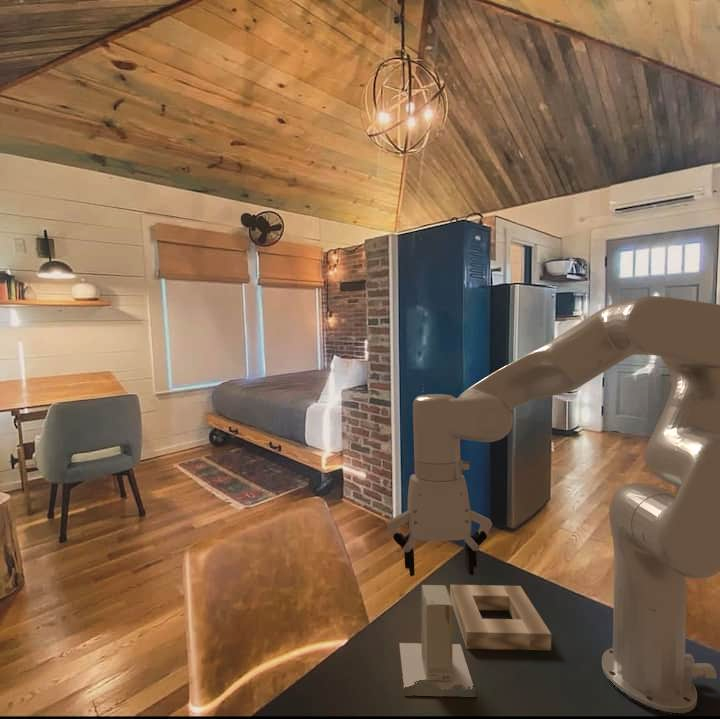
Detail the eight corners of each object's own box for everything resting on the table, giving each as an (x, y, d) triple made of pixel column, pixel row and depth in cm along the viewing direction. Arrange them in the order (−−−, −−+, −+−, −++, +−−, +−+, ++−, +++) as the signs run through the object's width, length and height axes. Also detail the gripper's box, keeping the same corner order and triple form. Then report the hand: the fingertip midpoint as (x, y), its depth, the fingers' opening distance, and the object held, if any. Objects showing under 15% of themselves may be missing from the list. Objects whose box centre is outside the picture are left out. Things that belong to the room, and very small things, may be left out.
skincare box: (453, 682, 65) (454, 606, 65) (426, 681, 66) (426, 606, 65) (445, 652, 72) (446, 583, 72) (420, 652, 72) (421, 583, 72)
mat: (460, 646, 74) (460, 644, 74) (476, 697, 63) (476, 695, 63) (399, 645, 74) (399, 642, 74) (404, 696, 63) (404, 693, 63)
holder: (520, 599, 88) (520, 585, 88) (551, 650, 73) (551, 633, 73) (450, 598, 88) (450, 584, 88) (466, 648, 73) (466, 632, 73)
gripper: (483, 461, 72) (486, 559, 72) (384, 464, 72) (387, 561, 72) (496, 474, 64) (499, 583, 64) (386, 477, 64) (389, 585, 65)
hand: (440, 571), depth 68 cm, fingers open, 9 cm apart
